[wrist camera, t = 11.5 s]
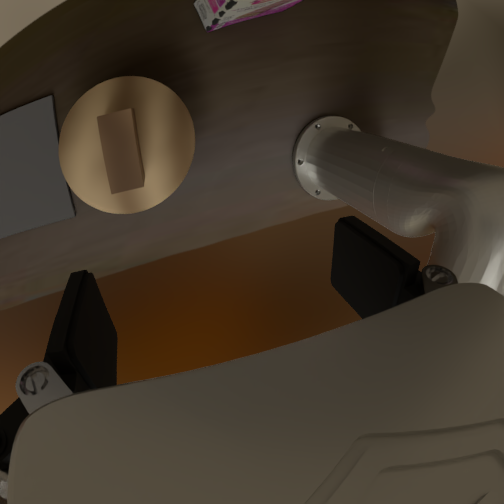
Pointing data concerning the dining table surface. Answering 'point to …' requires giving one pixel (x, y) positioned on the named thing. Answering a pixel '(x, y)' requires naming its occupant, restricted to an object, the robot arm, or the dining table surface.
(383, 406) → the robot arm
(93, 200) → the lid
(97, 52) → the dining table surface
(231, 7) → the candy bar box
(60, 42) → the dining table surface
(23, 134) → the mat
